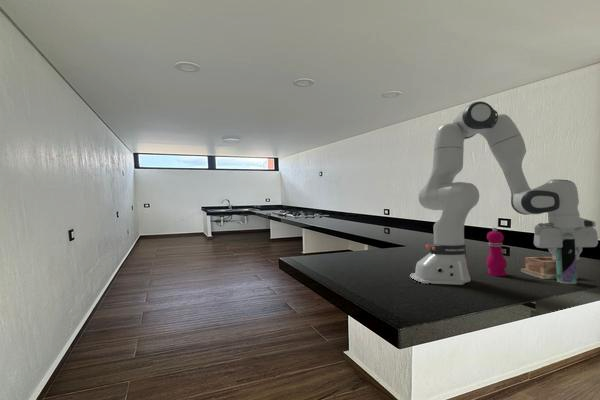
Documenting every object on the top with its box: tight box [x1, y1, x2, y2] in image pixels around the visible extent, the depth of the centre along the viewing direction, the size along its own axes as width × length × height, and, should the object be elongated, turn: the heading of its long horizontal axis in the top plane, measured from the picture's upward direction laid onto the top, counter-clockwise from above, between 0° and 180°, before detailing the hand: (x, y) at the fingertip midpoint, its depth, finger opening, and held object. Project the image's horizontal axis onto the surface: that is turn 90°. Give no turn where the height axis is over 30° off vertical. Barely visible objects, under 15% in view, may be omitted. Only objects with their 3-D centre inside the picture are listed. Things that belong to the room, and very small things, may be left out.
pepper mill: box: [486, 226, 508, 277], centre depth 125 cm, size 7×7×20 cm
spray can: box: [555, 233, 578, 285], centre depth 110 cm, size 6×6×20 cm
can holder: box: [520, 256, 580, 280], centre depth 121 cm, size 13×13×6 cm
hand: (566, 259), depth 110 cm, fingers open, 5 cm apart
